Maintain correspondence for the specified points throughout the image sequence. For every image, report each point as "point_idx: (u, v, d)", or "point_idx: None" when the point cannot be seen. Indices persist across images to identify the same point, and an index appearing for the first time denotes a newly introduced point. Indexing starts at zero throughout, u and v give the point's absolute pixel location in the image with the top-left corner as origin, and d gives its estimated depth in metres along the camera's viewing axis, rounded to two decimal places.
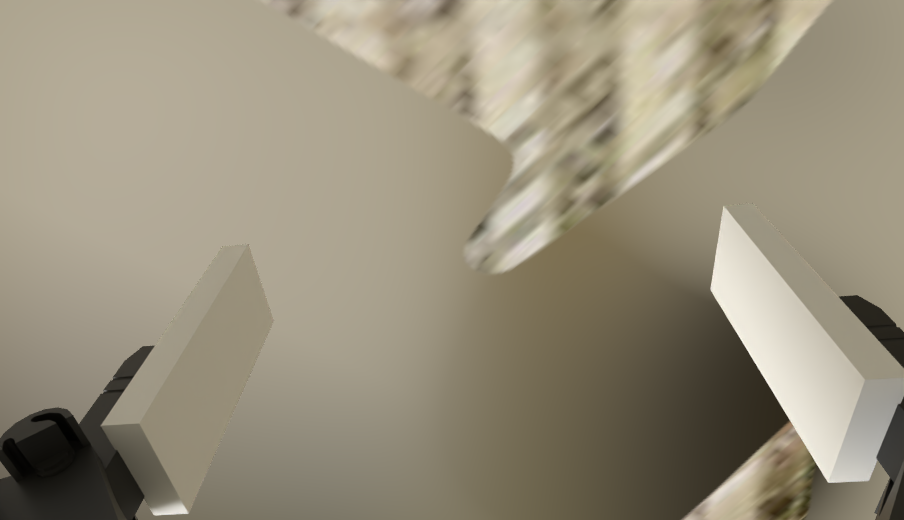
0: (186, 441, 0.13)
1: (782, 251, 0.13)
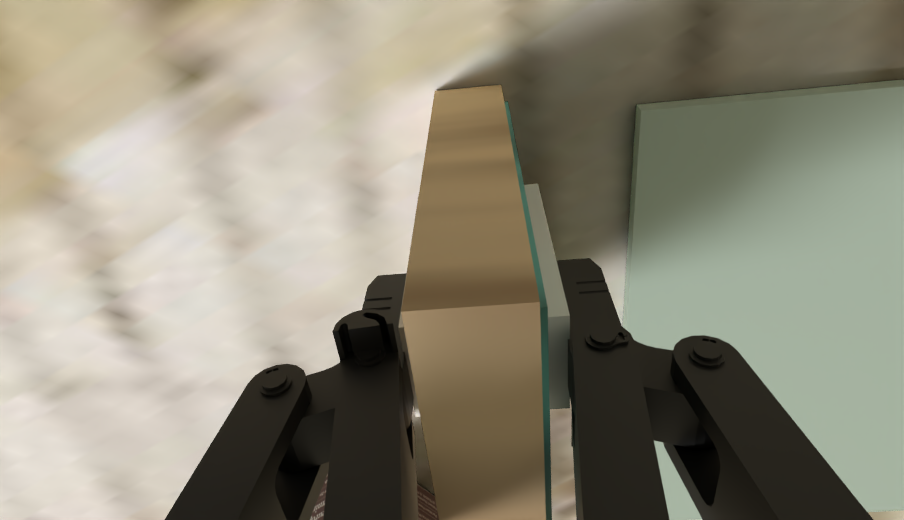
0: None
1: (535, 222, 0.16)
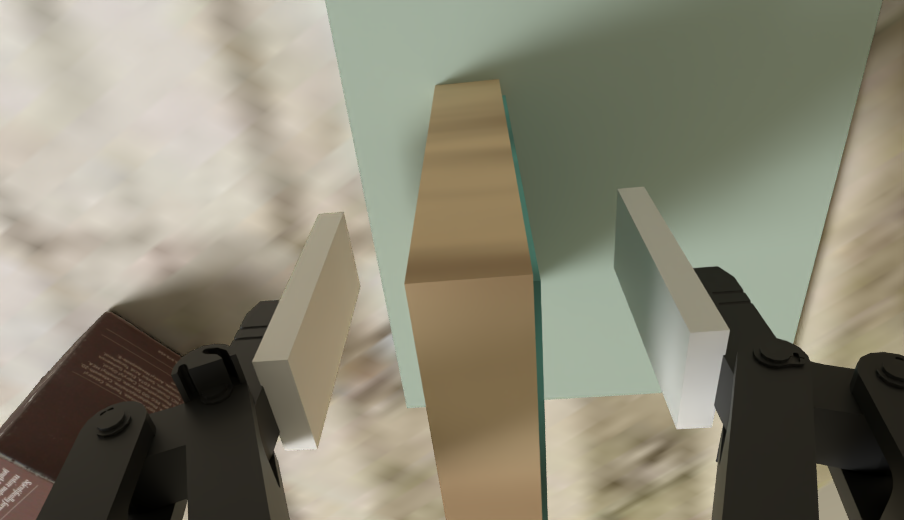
0: (314, 383, 0.14)
1: (656, 227, 0.15)
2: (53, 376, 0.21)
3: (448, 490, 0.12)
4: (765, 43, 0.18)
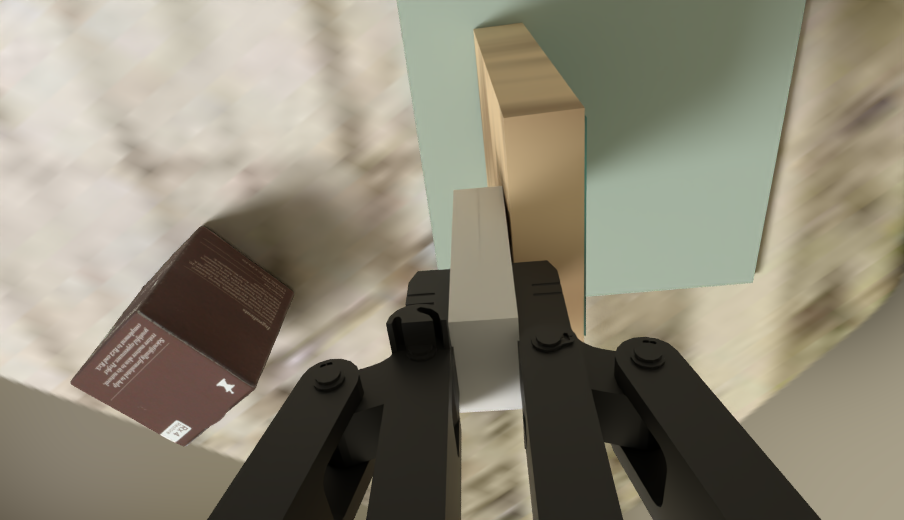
0: None
1: (495, 224, 0.16)
2: (171, 267, 0.27)
3: None
4: None
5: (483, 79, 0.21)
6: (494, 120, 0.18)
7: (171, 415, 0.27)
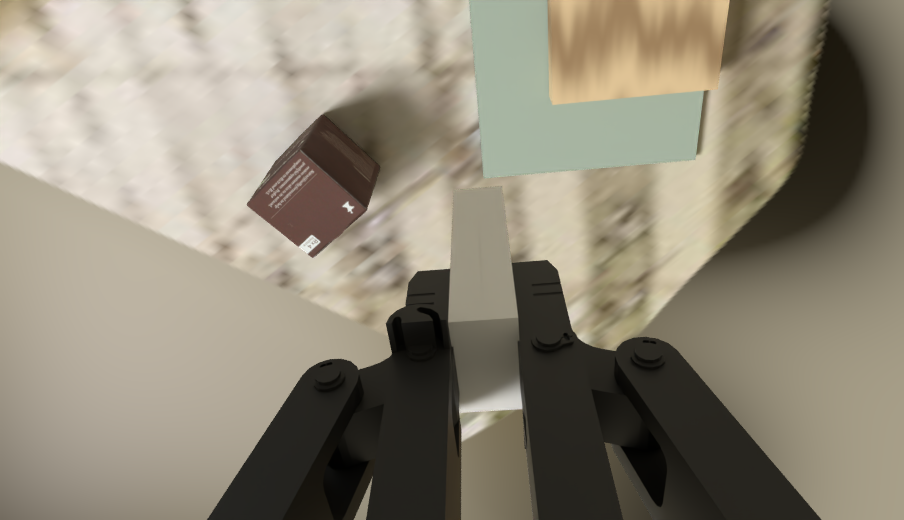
0: None
1: (495, 224, 0.16)
2: (311, 132, 0.41)
3: None
4: None
5: None
6: None
7: (308, 231, 0.41)
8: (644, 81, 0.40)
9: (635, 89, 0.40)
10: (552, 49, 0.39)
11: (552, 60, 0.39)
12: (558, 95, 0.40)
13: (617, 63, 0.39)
